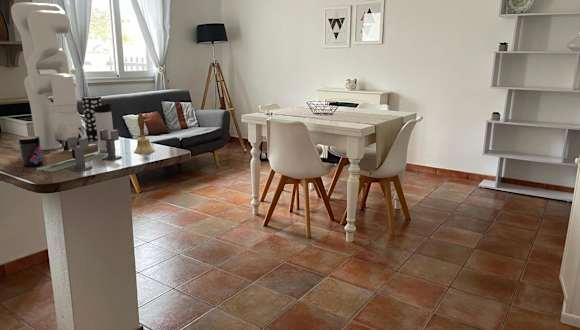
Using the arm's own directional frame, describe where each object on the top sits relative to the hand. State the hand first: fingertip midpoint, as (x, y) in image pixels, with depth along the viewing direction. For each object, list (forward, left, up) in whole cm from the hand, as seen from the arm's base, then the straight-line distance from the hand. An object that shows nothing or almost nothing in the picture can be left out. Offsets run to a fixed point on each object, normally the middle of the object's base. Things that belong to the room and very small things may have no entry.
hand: (72, 157), depth 166 cm
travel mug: (0, +19, -2) cm, 19 cm away
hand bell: (+15, +23, -2) cm, 28 cm away
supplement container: (-11, -8, -2) cm, 14 cm away
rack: (+11, 0, -2) cm, 11 cm away
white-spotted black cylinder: (-24, +40, -2) cm, 47 cm away
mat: (0, 0, -2) cm, 2 cm away
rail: (0, 0, 0) cm, 0 cm away
